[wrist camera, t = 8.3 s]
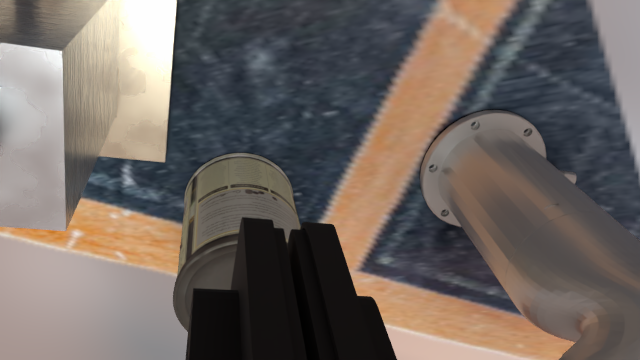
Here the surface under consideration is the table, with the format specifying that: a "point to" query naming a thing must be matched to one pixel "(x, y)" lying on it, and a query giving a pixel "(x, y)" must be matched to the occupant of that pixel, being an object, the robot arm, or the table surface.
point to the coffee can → (226, 220)
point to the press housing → (78, 98)
